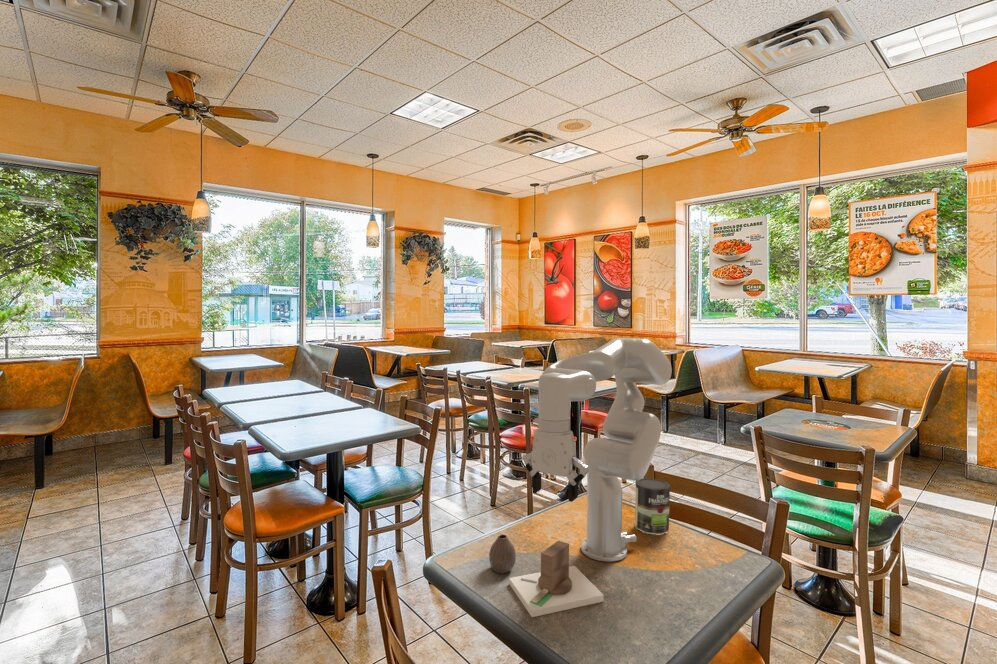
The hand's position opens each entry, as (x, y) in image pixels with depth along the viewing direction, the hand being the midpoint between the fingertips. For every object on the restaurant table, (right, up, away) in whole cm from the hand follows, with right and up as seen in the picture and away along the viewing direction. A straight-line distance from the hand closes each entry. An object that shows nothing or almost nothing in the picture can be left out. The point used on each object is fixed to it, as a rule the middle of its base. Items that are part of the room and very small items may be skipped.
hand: (554, 495), depth 119 cm
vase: (-13, -23, +9) cm, 27 cm away
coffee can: (+34, -22, +34) cm, 53 cm away
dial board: (0, -23, -1) cm, 23 cm away
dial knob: (-2, -21, -3) cm, 21 cm away
